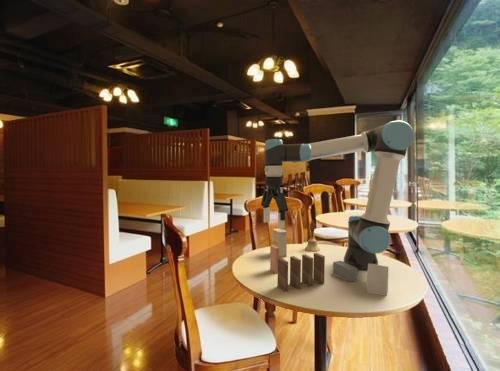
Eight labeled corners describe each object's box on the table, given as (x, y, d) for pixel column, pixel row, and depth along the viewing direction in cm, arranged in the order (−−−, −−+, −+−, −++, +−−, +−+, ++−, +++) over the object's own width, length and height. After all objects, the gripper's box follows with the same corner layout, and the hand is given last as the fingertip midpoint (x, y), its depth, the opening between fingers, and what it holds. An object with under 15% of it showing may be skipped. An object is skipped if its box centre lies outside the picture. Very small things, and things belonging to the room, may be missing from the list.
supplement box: (287, 256, 145) (287, 231, 145) (278, 257, 144) (278, 232, 143) (280, 252, 153) (281, 228, 152) (272, 252, 152) (272, 228, 151)
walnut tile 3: (305, 281, 114) (305, 254, 114) (312, 286, 110) (313, 258, 109) (301, 282, 114) (302, 254, 113) (309, 286, 109) (309, 258, 108)
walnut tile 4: (316, 279, 117) (316, 252, 116) (324, 283, 112) (324, 256, 111) (313, 279, 116) (313, 253, 115) (320, 284, 111) (321, 256, 111)
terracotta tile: (273, 269, 128) (273, 245, 127) (278, 273, 123) (279, 248, 122) (270, 269, 127) (270, 245, 126) (275, 273, 122) (275, 248, 122)
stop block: (340, 271, 125) (340, 260, 124) (357, 280, 116) (357, 268, 115) (332, 273, 123) (333, 261, 123) (349, 281, 114) (349, 269, 114)
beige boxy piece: (386, 295, 102) (387, 268, 101) (366, 291, 105) (367, 264, 105) (387, 292, 105) (388, 265, 104) (368, 287, 108) (369, 262, 108)
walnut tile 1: (281, 285, 110) (281, 257, 109) (287, 291, 105) (288, 261, 105) (277, 286, 109) (277, 258, 109) (284, 291, 105) (284, 262, 104)
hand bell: (305, 251, 155) (305, 222, 154) (304, 247, 163) (304, 219, 162) (320, 251, 154) (321, 222, 153) (318, 247, 162) (319, 219, 161)
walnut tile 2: (293, 283, 112) (293, 256, 111) (300, 288, 108) (300, 259, 107) (289, 284, 112) (290, 256, 111) (296, 289, 107) (297, 260, 106)
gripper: (253, 175, 132) (254, 220, 134) (280, 176, 110) (280, 231, 111) (268, 175, 135) (268, 219, 137) (296, 176, 113) (296, 229, 114)
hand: (273, 225), depth 124 cm, fingers open, 13 cm apart
